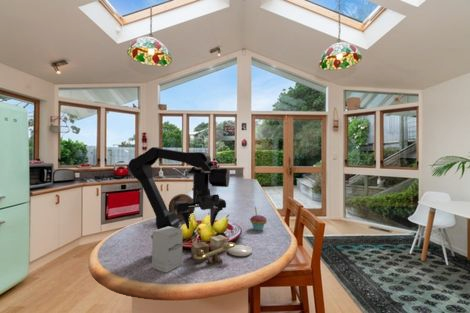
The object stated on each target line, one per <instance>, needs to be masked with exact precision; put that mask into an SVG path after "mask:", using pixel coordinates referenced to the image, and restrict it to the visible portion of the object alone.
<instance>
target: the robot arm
mask: <svg viewBox="0 0 470 313" xmlns="http://www.w3.org/2000/svg"><path fill="white" fill-rule="evenodd" d="M159 159H163V160H168V161H175V162H181V163H184V164H187V165H189V166H191V168H190V169H189V170H188V171H187V173H188V174H192V176H193V177H192V181H193V182H192V202H193V203H188V202H186V201H176V202H175V203H174V209H175V210H176V211H177V212H179V213H181V214H182V216H183V218H184V220H183V221H184V224H185V226H186V229H187V230H190V217H189V211H188V209H189V208H195V209H196V208H199V209H200V210H202V211H206V210H210V211H209V212H210V216H209V217H210V218H209V220H210V221H209V222H210V223H209V224H210V226H211V227H213V226H214V224H215V221H216V218H217V216H218V214H219V212H221V211H223V210H224V209H226V208H227V201H226V200H225V199H223V198H220V196H219V194H212V195H211V189H210V188H209V187H210V186H209V185H211V186H212V187H216V188H217V187H218V188H220V187H221V188H229V185H230V175H229V168H225V167H224V168H216V166H215V165H214V163H213V161H211V160H212V159H211V156H210V154H209V153H208V152H205V151H204V152H203V151H201V152H200V151H191V152H185V151H178V150H172V149H166V148H161V147H159V146H158V147H157V146H156V147H155V146H154V147H153V146H152V147H151V148H149V149H148V150H147V151H145V152H143V153H141V154H140V155H138V156H137V157H135V158H132V159H131V160H130V161H129V162H128V165H127V167H128V170H129V172H130V173H131V175H132V176H133V177H134V178H135V179H136V180H137V181H139V183H140V184H141V187H142V189H143V191H144V193H145V196H146V197H147V199H148V202H149V204H150V206H151V209H152V210H153V212H154V215H155V226H156V230H158V229H161V228H165V227H168V226H169V227H174V228H180V224H179V223H180V220H179V219H178V218H177V216H176V213H175V212H173V213H171V212H170V211H169V208H168V207H167V205H166V203H165V201H164V198H163V197H162V195H161V193H160V191H159V189H158V187H157V186H158V185H157V184H156V182H155V180H154V178H153V167H152V166H153V165H154V164H155V163H156V162H157V161H158V160H159ZM150 237H151V238H152V237H153V234H152V235H151V236H150Z"/></svg>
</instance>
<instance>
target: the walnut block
mask: <svg viewBox="0 0 470 313" xmlns="http://www.w3.org/2000/svg"><path fill="white" fill-rule="evenodd" d="M199 249H202V250H204V253H205V254H206V253H209V252H210V251H209V250H210V245H209V244H207V242H206V241H199V242H191V249H190V251H191V252H190V253H191V256H190V257H191V258H192V259H193V261H195V262H201V261H206V260H207V261H208V259H209V257H210V256H209V257H206V258H204V259H201V260H200V259H195V258H194V254H196V253H197V250H199Z"/></svg>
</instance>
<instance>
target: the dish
mask: <svg viewBox="0 0 470 313" xmlns="http://www.w3.org/2000/svg"><path fill="white" fill-rule="evenodd" d="M227 252H228V254H230V255H231V256H234V257H246V256H250V255H252V254H253V248H252V247H250V246H247V245H242V244H235V247H233V248H230V249H228V250H227Z"/></svg>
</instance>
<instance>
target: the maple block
mask: <svg viewBox="0 0 470 313" xmlns="http://www.w3.org/2000/svg"><path fill="white" fill-rule="evenodd" d="M226 242H229V241H228V237H227V236H224V235H222V234H218V235H215V236H211V237H210V242H209V243H210V245H209V250H210V251H211V252H212V251H214V250H217V249H220V248H222V247H224V246H223V244H224V243H226ZM224 252H228V249H227V250H225V251H222V252H219V253H218V254H220V253H224Z"/></svg>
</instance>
